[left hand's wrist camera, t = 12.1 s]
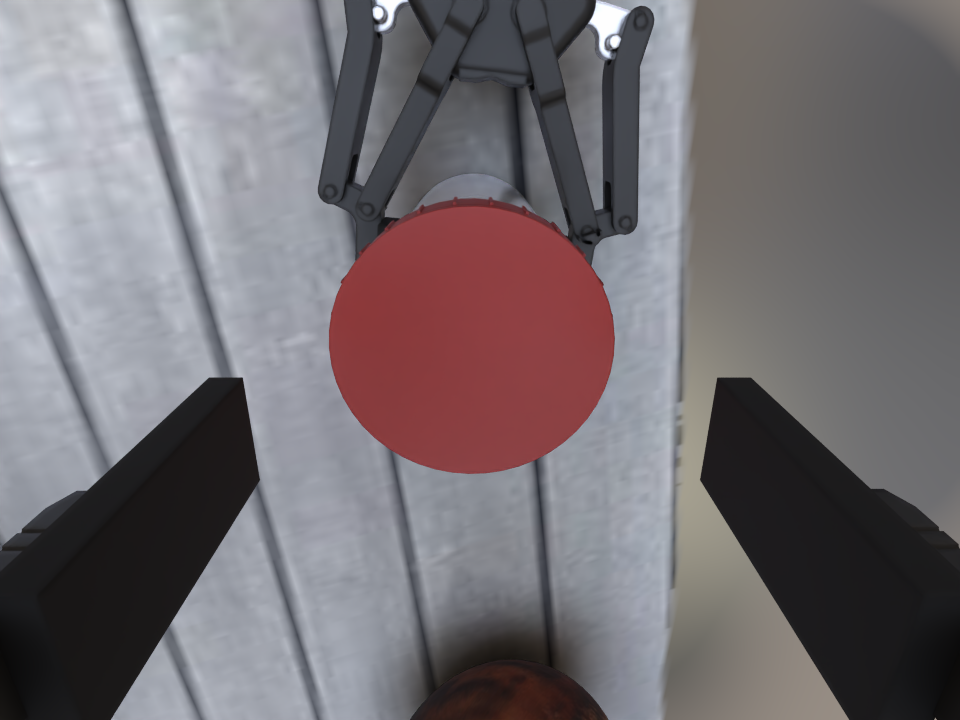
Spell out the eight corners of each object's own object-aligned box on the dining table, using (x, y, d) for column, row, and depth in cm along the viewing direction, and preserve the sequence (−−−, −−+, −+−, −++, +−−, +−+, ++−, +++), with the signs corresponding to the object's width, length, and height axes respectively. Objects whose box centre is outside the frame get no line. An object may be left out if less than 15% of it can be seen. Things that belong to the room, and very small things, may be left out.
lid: (621, 417, 22) (635, 445, 20) (383, 466, 22) (375, 498, 21) (580, 165, 18) (593, 170, 16) (303, 233, 19) (283, 244, 17)
